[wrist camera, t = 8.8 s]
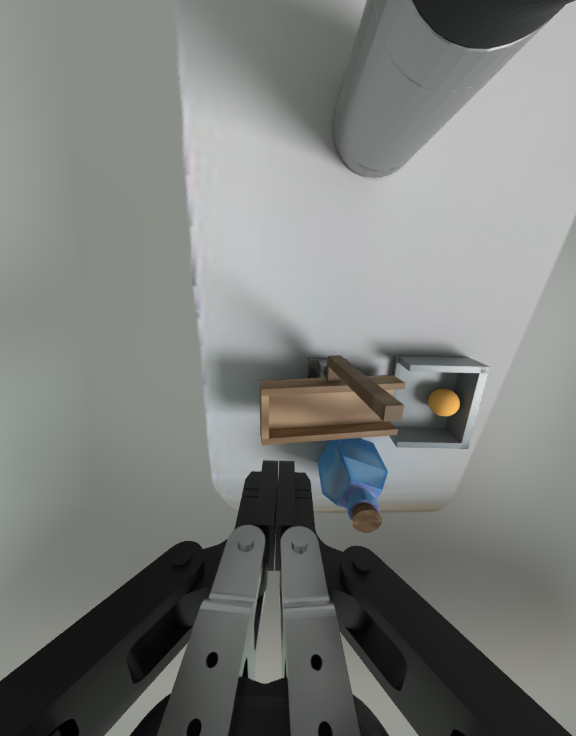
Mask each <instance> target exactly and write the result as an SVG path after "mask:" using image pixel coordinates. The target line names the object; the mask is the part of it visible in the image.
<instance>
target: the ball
mask: <svg viewBox="0 0 576 736" xmlns="http://www.w3.org/2000/svg"><path fill="white" fill-rule="evenodd" d="M428 404H429V407H430V409H431V410H432V411H433V412H434V413H435V414H437V415H439V416H450V415H453V414H454V413H456V412H457V411H458V409H459V406H460V400H459V398H458V396H457V395H456V394H455V393H454V392H453V391H451V390H449V389H437V390H435V391H434V392H432V393H431V394H430V396H429V399H428Z"/></svg>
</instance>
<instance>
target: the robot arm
mask: <svg viewBox="0 0 576 736" xmlns="http://www.w3.org/2000/svg"><path fill="white" fill-rule="evenodd" d="M572 1H575V0H367V1H366V4H365V8H364V11H363V15H362V19H361V22H360V26H359V29H358V33H357V37H356V40H355V44H354V47H353V51H352V54H351V58H350V62H349V65H348V69H347V72H346V76H345V79H344V82H343V86H342V90H341V93H340V97H339V101H338V104H337V108H336V112H335V116H334V127H333V131H334V140H335V144H336V147H337V151H338V153H339V155H340V156H341V158H342V160H343V161H344V163H345V164H346V165H347V166H348V167H349V168H350V169H351V170H353V171H354V172H355V173H357V174H360V175H362V176H365V177H371V178H376V177H383V176H386V175H389V174H392V173H393V172H395V171H396V170H398V169H400V168H401V167H402V166H403V165H404V164H405V163H406V162H407V161H408V160H409V159H410V158H411V157H412V156H413V155H414V154H415V153H416V152H417V151H418V150H420V149H421V148H422V147H423V146H424V145H425V144H426V143H427V142H428V141H429V140H430V139H431V138H432V137H433V136H434V135H435V134H436V133H437V132H438V131H439V130H440V129H441V128H442V127H443V126H444V125H445V124H446V123H447V122H448V121H449V120H450V119H451V118H452V117H453V116H454V115H455V114H456V113H457V112H458V111H459V110H460V109H461V108H462V107H463V106H464V105H465V104H466V103H467V102H468V101H469V100H470V99H471V98H472V97H473V96H474V95H475V94H476V93H477V92H478V91H479V90H480V89H481V88H482V87H483V86H484V85H485V84H486V83H487V82H488V81H489V80H490V79H491V78H492V77H493V76H494V75H495V74H496V73H497V72H498V71H499V70H500V69H501V68H502V67H503V66H504V65H505V64H506V63H507V62H508V61H509V60H510V59H511V58H512V57H513V56H514V55H515V54H516V53H517V52H518V51H519V50H520V49H521V48H522V47H523V46H524V45H525V44H526V43H527V42H528V41H529V40H530V39H531V38H532V37H533V36H534V35H535V34H536V33H537V32H538V31H539V30H540V29H541V28H542V27H543V26H544V25H545V24H546V23H547V22H548V21H549V20H550V19H551V18H552V17H553V16H554V15H555V14H556V13H558V12H559V11H560V10H561V9H562V8H563V7H564V6H565V5H566V4H568V3H570V2H572ZM275 534H276V551H274V550H275ZM274 552H276V553H275V555H276V556H275V557H276V558H275V570H276V571H280V592H279V593H280V594H279V597H280V621H281V622H280V625H281V654H282V679H279V680H276V681H273V682H270V683H268V684H262V683H259V682H256V681H254V678H255V664H256V655H257V648H258V641H259V634H260V627H261V620H262V613H263V607H264V599H265V590H266V587H267V578H268V571H273V570H274ZM340 632H341V633H342V635H343V636H344V637H345V639H346V640H347V641H348V643H349V644H350V645H351V647H352V648H353V649H354V651H355V652H356V653H357V655H358V656H359V657H360V659H361V660H362V661H363V663H364V664H365V665H366V666H367V668H368V669H369V670H370V672H371V673H372V674H373V676H374V677H375V678H376V680H377V681H378V682H379V683H380V685H381V686H382V688H383V689H384V690H385V691H386V693H387V694H388V695H389V697H390V698H391V699H392V701H393V702H394V703H395V705H396V706H397V707H398V709H399V710H400V711H401V713H402V714H403V715H404V717H405V718H406V719H407V721H408V722H409V723H410V725H411V726H412V727H413V728H414V730H415V731H416V732H417V734H418V735H419V736H572V735H571V734H570V733H569V732H568V731H566V730H565V729H564V728H563V727H562V726H561V725H560V724H559V723H558V722H557V721H556V720H555V719H553V718H552V717H551V716H550V715H549V714H548V713H547V712H546V711H545V710H544V709H543V708H542V707H540V706H539V705H538V704H537V703H536V702H535V701H534V700H533V699H532V698H531V697H530V696H529V695H527V694H526V693H525V692H524V691H523V690H522V689H521V688H520V687H519V686H518V685H516V684H515V683H514V682H513V681H512V680H511V679H510V678H509V677H508V676H507V675H506V674H505V673H503V672H502V671H501V670H500V669H499V668H498V667H497V666H496V665H495V664H494V663H493V662H492V661H490V660H489V659H488V658H487V657H486V656H485V655H484V654H483V653H482V652H481V651H480V650H478V649H477V648H476V647H475V646H474V645H473V644H472V643H471V642H470V641H469V640H468V639H467V638H466V637H464V636H463V635H462V634H461V633H460V632H459V631H458V630H457V629H456V628H455V627H454V626H452V625H451V624H450V623H449V622H448V621H447V620H446V619H445V618H444V617H443V616H442V615H441V614H439V613H438V612H437V611H436V610H435V609H434V608H433V607H432V606H431V605H430V604H428V602H426V601H425V600H424V599H423V598H422V597H421V596H420V595H419V594H418V593H417V592H416V591H415V590H413V589H412V588H411V587H410V586H409V585H408V584H407V583H406V582H405V581H403V579H402V578H400V577H399V576H398V575H397V574H396V573H395V572H394V571H393V570H392V569H390V568H389V567H388V566H387V565H386V564H385V563H384V562H383V561H382V560H381V559H380V558H379V557H378V556H377V555H375V554H374V553H373V552H372V551H370V550H369V549H367V548H365V547H361V546H351V547H349V548H347V549H346V550H345V551H344V552H342V551H339V550H336V549H333V548H331V547H329V546H327V545H325V544H324V543H323V542H322V541H321V540H320V539H319V537H318V535H317V534H316V530H315V523H314V512H313V502H312V492H311V482H310V479H309V478H308V476H307V475H306V473H298V472H295V470H294V461H279V477H278V461H265V460H263V465H262V472H254V471H252V472H251V473H250V474H249V475H248V477H247V478H246V479H245V484H244V489H243V493H242V498H241V502H240V507H239V511H238V516H237V521H236V525H235V529H234V531H233V532H232V533H231V534H230V535H229V537H228V539H227V540H225V541H224V542H222V543H221V544H219V545H215V546H213V547H209V548H206V549H202V547H201V546H200V545H199V544H198V543H196V542H193V541H184V542H181V543H179V544H176V545H175V546H173V547H172V548H170V549H169V550H168V551H166V552H165V553H164V554H163V555H161V556H160V557H159V558H157V559H156V560H155V561H154V562H153V563H151V564H150V565H148V566H147V567H146V568H145V569H143V570H142V571H141V572H140V573H138V574H137V575H136V576H134V577H133V578H132V579H130V580H129V581H128V582H127V583H125V584H124V585H123V586H122V587H120V588H119V589H118V590H116V591H115V592H114V593H113V594H111V595H110V596H109V597H108V598H106V599H105V600H104V601H102V602H101V603H100V604H98V605H97V606H96V607H95V608H93V609H92V610H91V611H90V612H88V613H87V614H86V615H84V616H83V617H82V618H81V619H79V620H78V621H77V622H76V623H74V624H73V625H72V626H70V627H69V628H68V629H67V630H65V631H64V632H63V633H61V634H60V635H59V636H57V637H56V638H55V639H54V640H52V641H51V642H50V643H49V644H47V645H46V646H45V647H44V648H42V649H41V650H40V651H38V652H37V653H36V654H34V655H33V656H32V657H31V658H29V659H28V660H27V661H26V662H24V663H23V664H22V665H20V666H19V667H18V668H17V669H15V670H14V671H13V672H11V673H10V674H9V675H8V676H6V677H5V678H4V679H3V680H1V681H0V736H104V735H105V734H106V733H107V732H108V731H109V730H110V729H111V728H112V726H113V725H114V724H115V723H116V722H117V721H118V720H119V719H120V718H121V716H122V715H123V714H124V713H125V712H126V711H127V710H128V709H129V707H130V706H131V705H132V704H133V703H134V702H135V701H136V700H137V699H138V698H139V696H140V695H141V694H142V693H143V692H144V691H145V690H146V689H147V687H148V686H149V685H150V684H151V683H152V682H153V681H154V680H155V679H156V677H157V676H158V675H159V674H160V673H161V672H162V671H163V670H164V668H165V667H166V666H167V665H168V664H169V663H170V662H171V661H172V660H173V659H174V657H175V656H176V655H177V654H178V653H179V652H180V650H182V649H183V647H184V646H185V645H186V644H187V643H188V644H187V647H186V650H185V653H184V656H183V659H182V662H181V665H180V668H179V671H178V674H177V678H176V681H175V683H174V686H173V689H172V692H171V694H169V695H168V696H166V697H165V698H164V699H163V700H162V701H160V702H159V703H158V704H157V705H156V706H155V707H154V708H153V709H152V710H151V711H150V712H149V713H148V714H147V715H146V716H145V717H144V719H143V720H142V721H141V722H140V723H139V725H138V726H137V727H136V728H135V730H134V731H133V732H132V733H131V735H130V736H389V735H388V733H387V732H386V730H385V729H384V727H383V726H382V724H381V723H380V722H379V720H378V719H377V718H376V716H375V715H374V714H373V713H372V711H371V710H370V709H369V708H368V707H367V706H366V705H365V704H364V703H363V702H362V701H361V700H359V699H358V698H357V697H356V696H354V695H353V694H352V690H351V685H350V681H349V676H348V670H347V665H346V660H345V656H344V651H343V646H342V640H341V636H340Z"/></svg>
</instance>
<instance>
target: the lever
mask: <svg viewBox="0 0 576 736" xmlns="http://www.w3.org/2000/svg"><path fill="white" fill-rule="evenodd" d="M405 385H406V383H405V382H403V381H402V380H400V379H399V378H397V377H396V376H394V375H382V376H366V375H365V374H363V373H362V372H361V371H360V370H358V369H357V368H356V367H354V366H353V365H352V364H350V363H349V362H348V361H347V360H345V359H344V358H343V357H341V356H329V357H328V358H327V369H326V378H303V379H276V380H260V434H261V442H262V445H272V444H285V443H298V442H311V441H324V440H337V439H349V438H362V437H375V436H388V435H397V432H398V429H397V428H396V427H395V426H394V425H393V424H392V423H391V422H390V421H399V420H402V416H403V410H404V405H403V404H402V403H401V402H400V401H398V400H397V399H396V398H394V391H395V390H401V389H405Z"/></svg>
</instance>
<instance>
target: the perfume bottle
mask: <svg viewBox="0 0 576 736" xmlns="http://www.w3.org/2000/svg"><path fill="white" fill-rule="evenodd" d="M318 469H319V476H320V482H321V489H322V494H323V495H325V496H326V497H327V498H328V499H330V500H331V501H332V502H334V503H335V504H336V505H338V506H341V507H344V508H347V511H348V515H349V517H350V519H351V520H352V525H353V527H354V528H355V529H356V530H357V531H359V532H362V533H369V532H373V531H375V530H376V529H378V528H379V527H380V525H381V523H382V518H381V516H380V514H379V511H380V509H379V507H378V504H377V502H376V499H377V498H378V496H379V495H380V493H381V492H382V490H383V486H384V483H385V480H386V476H387V473H388V471H387V469H386V467H385V465H384V463H383V461H382V459H381V457H380V455H379V453H378V451H377V449H376V447H375V446H374V444H373V443H371V442H369V441H366V440H363V439H360V438H349V439H337V440H329V442H328V443H327V445H326V447H325V449H324V451H323V453H322V455H321V457H320V459H319V461H318Z"/></svg>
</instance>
